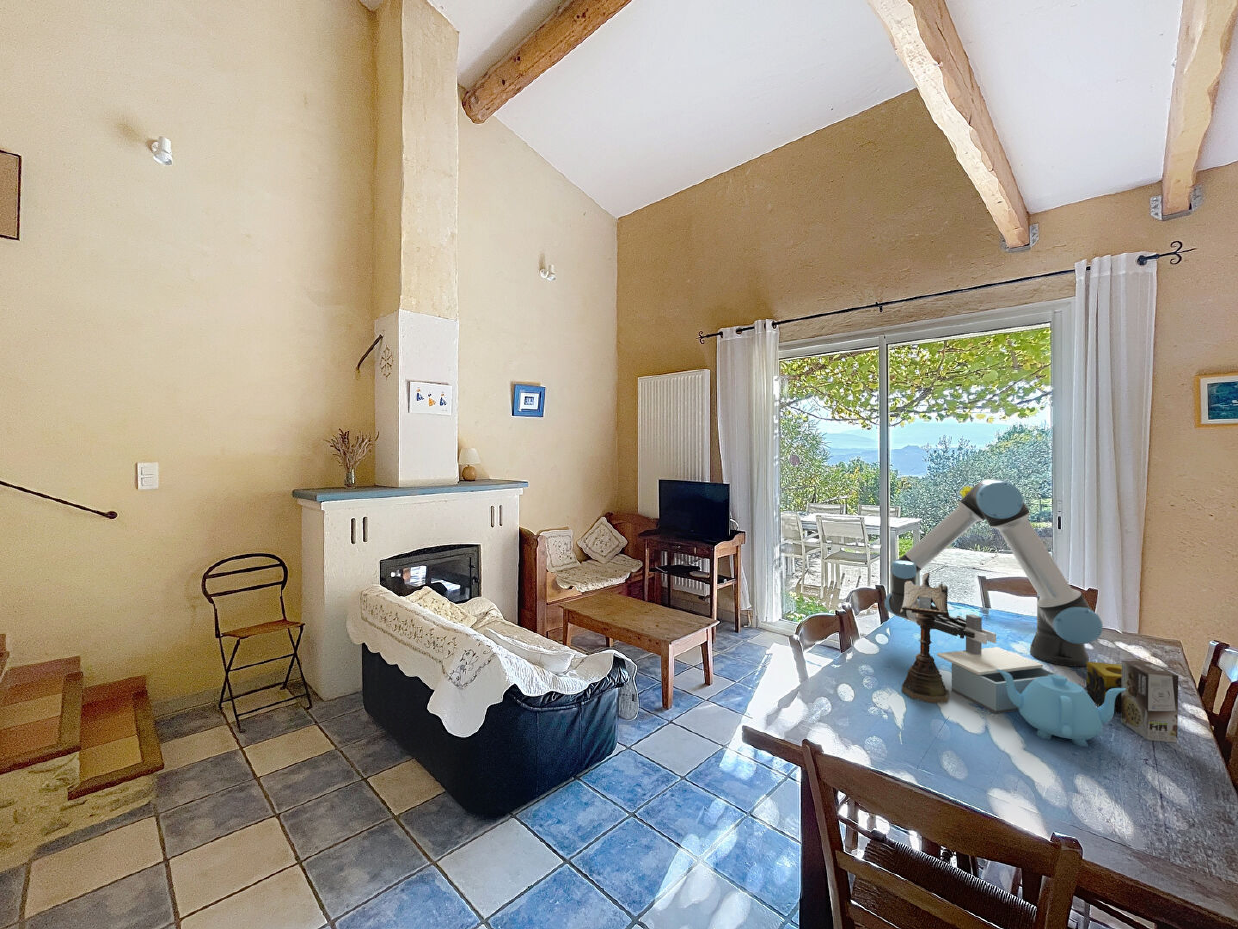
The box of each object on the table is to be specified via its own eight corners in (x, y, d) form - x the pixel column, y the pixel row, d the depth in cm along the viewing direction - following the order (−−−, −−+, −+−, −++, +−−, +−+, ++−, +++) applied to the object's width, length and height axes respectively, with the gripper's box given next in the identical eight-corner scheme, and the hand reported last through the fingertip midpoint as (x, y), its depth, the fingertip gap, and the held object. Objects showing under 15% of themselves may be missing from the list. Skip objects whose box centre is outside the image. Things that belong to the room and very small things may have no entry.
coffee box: (1179, 743, 125) (1180, 676, 125) (1147, 740, 127) (1148, 673, 126) (1149, 724, 134) (1150, 661, 134) (1119, 721, 136) (1120, 659, 135)
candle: (1130, 700, 147) (1130, 665, 147) (1153, 718, 137) (1153, 679, 137) (1084, 695, 150) (1085, 660, 150) (1104, 712, 141) (1104, 674, 141)
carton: (1012, 683, 158) (1013, 656, 158) (1061, 704, 145) (1061, 675, 144) (951, 690, 153) (951, 663, 153) (995, 714, 140) (996, 683, 140)
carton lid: (997, 649, 163) (997, 611, 163) (1042, 667, 150) (1043, 626, 149) (937, 656, 158) (937, 616, 158) (978, 675, 145) (979, 632, 144)
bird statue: (953, 716, 139) (954, 583, 138) (897, 702, 146) (898, 576, 145) (956, 692, 152) (958, 571, 151) (905, 681, 160) (906, 565, 159)
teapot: (1126, 747, 124) (1127, 687, 124) (1056, 755, 121) (1057, 694, 120) (1057, 713, 140) (1058, 660, 140) (994, 720, 137) (994, 666, 136)
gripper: (945, 624, 178) (1011, 649, 155) (905, 628, 174) (968, 654, 152) (945, 602, 178) (1012, 623, 155) (905, 605, 174) (968, 628, 151)
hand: (990, 638), depth 153 cm, fingers closed on carton lid, 3 cm apart
